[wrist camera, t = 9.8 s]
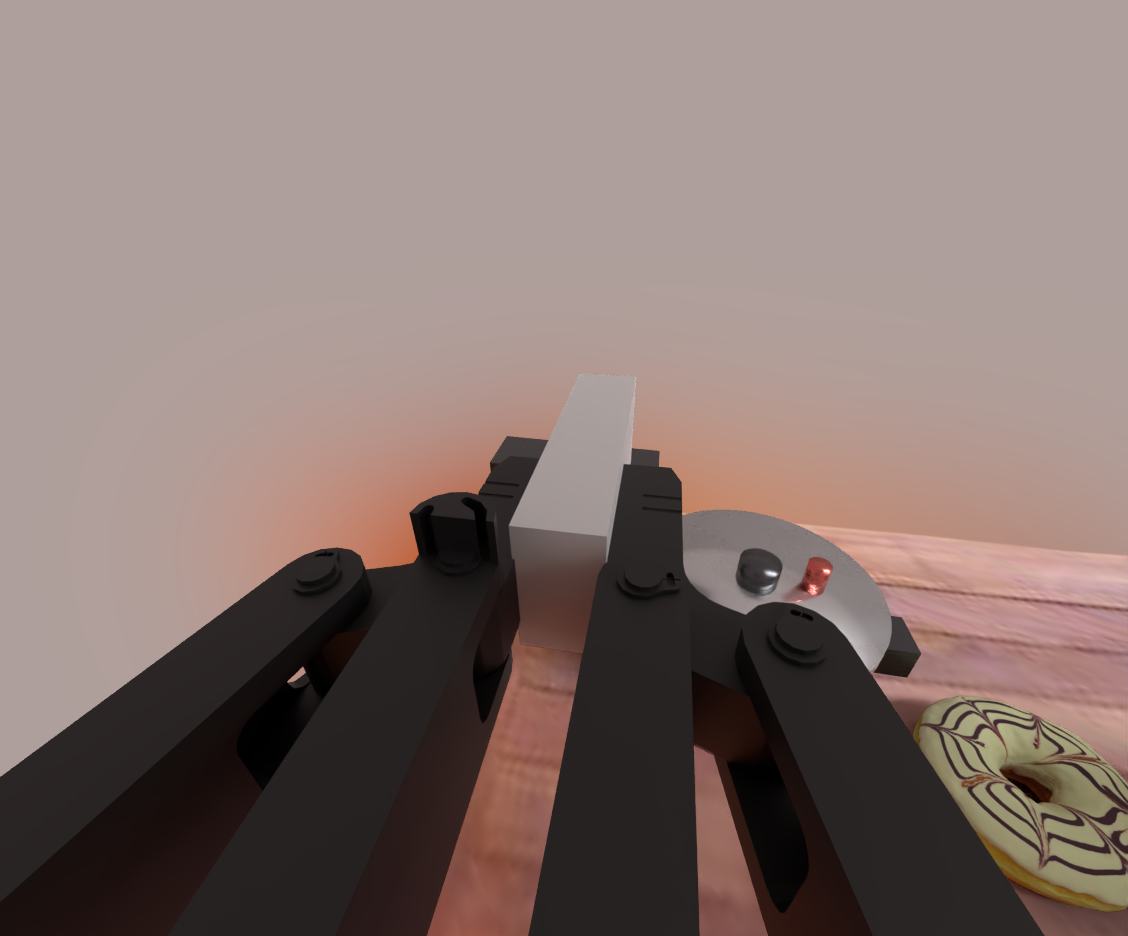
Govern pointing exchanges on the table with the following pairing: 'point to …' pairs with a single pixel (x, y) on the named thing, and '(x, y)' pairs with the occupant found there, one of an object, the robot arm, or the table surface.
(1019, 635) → the table surface
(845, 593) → the lid
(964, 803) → the decorated donut
